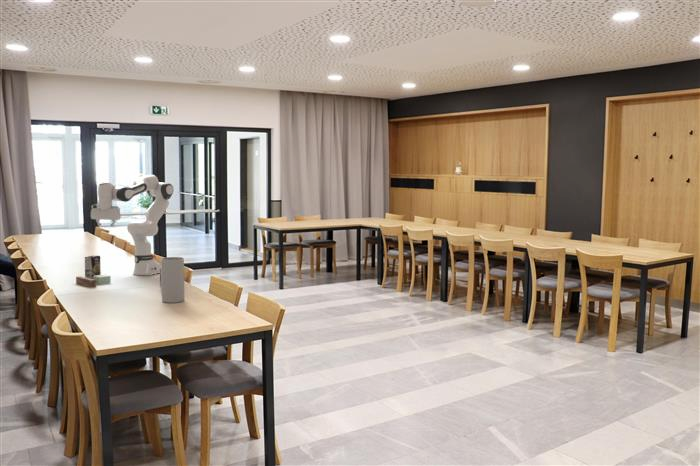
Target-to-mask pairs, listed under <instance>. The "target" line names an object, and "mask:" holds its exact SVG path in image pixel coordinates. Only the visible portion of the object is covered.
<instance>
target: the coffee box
mask: <svg viewBox="0 0 700 466" xmlns="http://www.w3.org/2000/svg"><path fill="white" fill-rule="evenodd" d="M101 273H102V272H101V255H88V256H85V257H84V277H86V278H90V279H93V276H96V275H102V274H101Z"/></svg>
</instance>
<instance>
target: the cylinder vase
mask: <svg viewBox="0 0 700 466" xmlns="http://www.w3.org/2000/svg"><path fill="white" fill-rule="evenodd" d="M160 265H161V268H162V289H161V301H162V302H163V303H165V302H166V303H167V304H177V303H176V302H178V303H181V302H184V301H185V258H184V257H180V256H179V257H178V256H171V257H170V256H169V257H161V259H160Z"/></svg>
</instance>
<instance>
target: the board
mask: <svg viewBox="0 0 700 466" xmlns="http://www.w3.org/2000/svg"><path fill="white" fill-rule="evenodd" d="M75 283H76V285H81V286H85V287H89V288H96V287H97V284H96V280H94V279H90V278H86V277H85V276H81V275H80V276H79V275H78V276H75Z"/></svg>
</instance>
